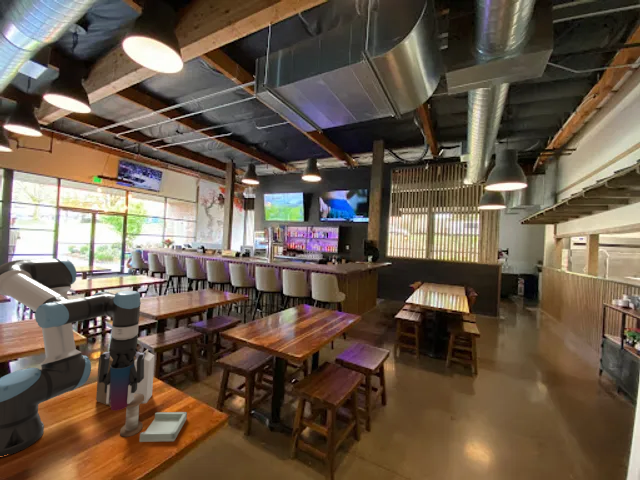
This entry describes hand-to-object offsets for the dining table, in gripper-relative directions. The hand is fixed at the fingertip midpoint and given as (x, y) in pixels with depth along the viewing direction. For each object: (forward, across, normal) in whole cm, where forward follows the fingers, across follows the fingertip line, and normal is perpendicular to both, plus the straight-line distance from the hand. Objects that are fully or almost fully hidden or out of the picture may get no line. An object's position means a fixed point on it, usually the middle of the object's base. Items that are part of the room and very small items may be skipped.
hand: (120, 401), depth 93 cm
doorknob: (+17, 0, +8) cm, 19 cm away
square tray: (+16, +12, +8) cm, 22 cm away
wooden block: (+17, -17, +29) cm, 38 cm away
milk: (+17, -5, +27) cm, 33 cm away
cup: (+2, 0, 0) cm, 2 cm away
